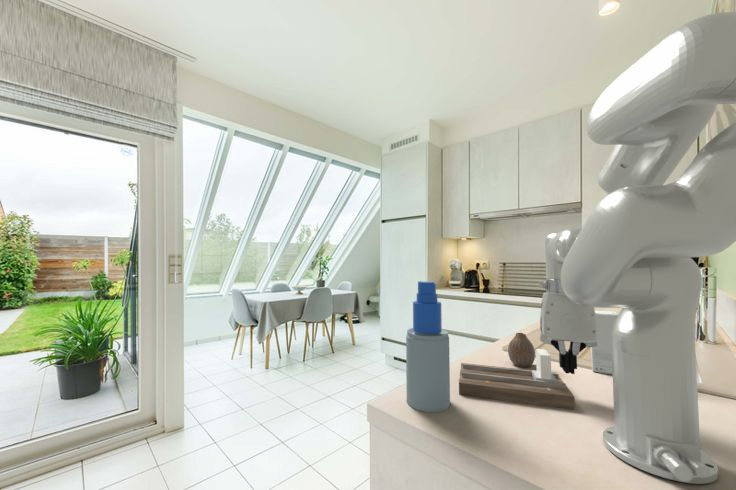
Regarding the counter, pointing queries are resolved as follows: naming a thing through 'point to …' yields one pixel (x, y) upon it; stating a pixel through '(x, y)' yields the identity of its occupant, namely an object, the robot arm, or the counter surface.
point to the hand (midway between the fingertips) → (568, 371)
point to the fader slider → (543, 367)
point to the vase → (521, 351)
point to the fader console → (513, 386)
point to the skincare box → (603, 342)
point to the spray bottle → (427, 354)
